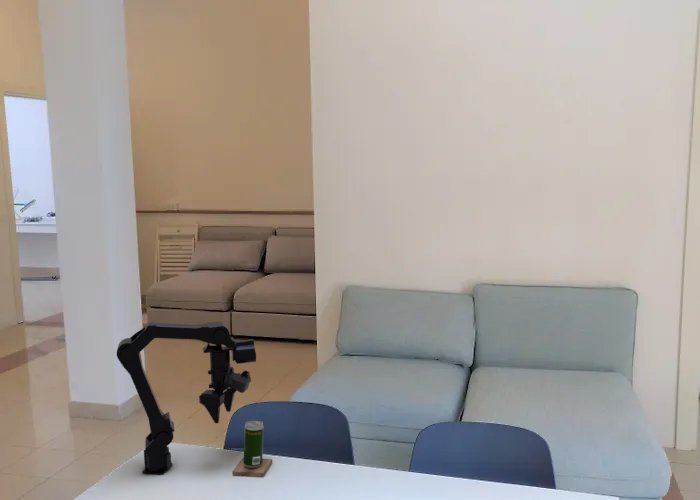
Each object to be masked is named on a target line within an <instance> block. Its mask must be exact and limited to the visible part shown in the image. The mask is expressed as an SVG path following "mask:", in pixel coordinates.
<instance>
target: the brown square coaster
mask: <svg viewBox="0 0 700 500" xmlns="http://www.w3.org/2000/svg"><path fill="white" fill-rule="evenodd" d="M243 459H244V457H242V458H241V459H240V460H239V462H238V463H237V464H236V466H235V468H233V470H232V473H231V474H232V476H233V477H246V478H247V477H248V478H249V477H251V478H264V477H266V474H267V472H268V471H269V470H270V468H271V466H272V464H273V458H263V459H262V464H261V466H260V467H257V468H248V467H246V466H245V465H244V463H243Z"/></svg>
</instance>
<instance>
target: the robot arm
mask: <svg viewBox="0 0 700 500" xmlns="http://www.w3.org/2000/svg"><path fill="white" fill-rule="evenodd" d="M155 339H168V340H169V339H170V340H171V339H172V340H173V339H175V340H194V341H201V342H202V343H206V345H205V346H204V347H203V348H202V351H203V353H204V354H208V353H209V365H210V368H209V369H208V371H207V375H210V383H209V384H208V389H206V390H205V391H203V392H202V393H201V394H200V395H199V396H198V401H199V402H198V403H199V404H201V405H202V406H204V408H205V409H206V411H207V413H208V414H209V415H210V418H211V419H212V421H213V422H214V424H219V423H220V413H221V406H222V405H224V408H225V410H226V412H227V413H228V412H229V413H230V412H231V410H232V406H233V401H234V397H235V394H236V392H237V391H238V393H241V394H244V393H246V391H247V390H248V389H249V387H250V383H252V377H251V374H250V371H248V370H244V371H242V372H241V373H240V372H238V373H236V372H235V369H234V367H233V366H231V361H232V362H235V364H236V365H241V364H250V363H256V362H257V352H256V347H255V340H254V339H253V338H249V339H246V340H235V338H234V337H233V336H231V334H230V330H229V328H228V326H227V325H226V324H225V323H224V322H222V321H210V322H209V321H208V322H204V323H201V324H185V323H165V322H155V321H150V322H148V323H147V324H146V325H145V326H144V327H143V328H141V329H140V330H138V331H137V332H136V333H134V334H132V335H131V336H130V337H127V338H123V339H121V341H119V343H118V344H117V350H116V357H117V360H118V361H119V363H120V364H121V366H122V367H123V368H124V369H125V371H126V372H127V373H128V374H129V376H130V378H131V380H132V383H133V385H134V388H135V390H136V392H137V394H138V396H139V399H140V401H141V404H142V406H143V409H144V411H145V414H146V416H147V419H148V422H149V423H148V424H149V431H150V432H149V434H147V436H145V445H144V449H143V459H144V460H143V461H144V468H143V469H142V471H141V474H148V475H149V474H150V475H164V474H165V473H166V472H167V471H168V470H169V469H170V468H171V467H172V466H173V463H172V454H171V452H170V448H169V447H170V446H169V445H170V444H171V443H172V442H173V440H174V432H175V423H174V421H172V418H171V416H170V415H171V414H170V412H169V411H168V412H166V413H165V412H163V411H162V409H161V407H160V405H159V402H158V400H157V398H156V395H155V392H154V391H153V388H152V385H151V383H150V380H149V378H148V376H147V374H146V371H145V368H144V366H143V360H142V355H141V351H143V350H145V348H146V347H147V346H148V345H149V344H150V343H151V342H153V340H155ZM230 351H231V352H230ZM230 353H231V354H230Z"/></svg>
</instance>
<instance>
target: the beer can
mask: <svg viewBox="0 0 700 500" xmlns="http://www.w3.org/2000/svg"><path fill="white" fill-rule="evenodd" d="M264 427H265V426H264V423H263V421H260V420H249V421H246V422H245V425H244V431H243V432H244V433H243V434H244V437H243V439H244V440H243V458H244V459H243V463H244V465H245V466H246V467H248V468H257V467H260V466H261V464H262V459H264V458H263V455H264V453H263V450H264V430H265V429H264Z"/></svg>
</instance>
